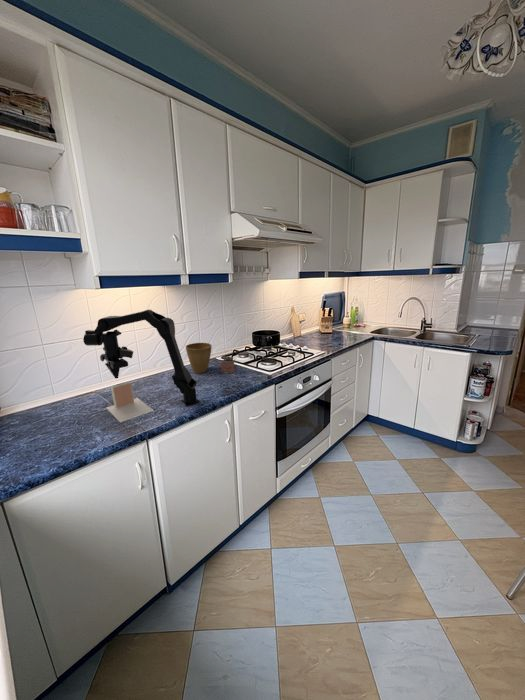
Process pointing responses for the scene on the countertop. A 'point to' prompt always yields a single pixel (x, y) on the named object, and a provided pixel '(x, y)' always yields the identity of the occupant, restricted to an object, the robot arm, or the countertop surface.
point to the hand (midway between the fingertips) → (116, 378)
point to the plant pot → (199, 356)
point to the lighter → (227, 365)
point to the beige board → (130, 410)
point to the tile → (122, 394)
